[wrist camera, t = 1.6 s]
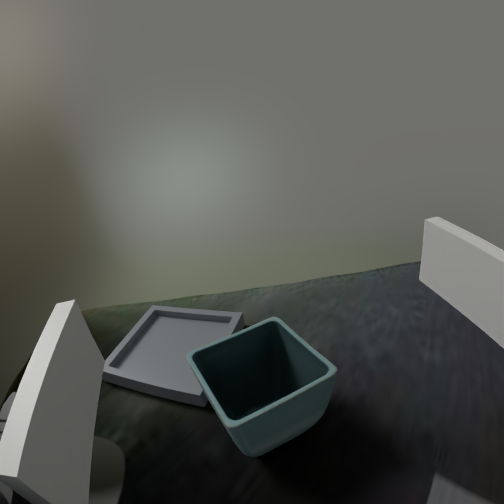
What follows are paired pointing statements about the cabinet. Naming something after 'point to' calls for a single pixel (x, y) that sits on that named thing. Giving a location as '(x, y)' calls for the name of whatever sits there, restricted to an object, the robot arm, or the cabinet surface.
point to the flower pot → (264, 384)
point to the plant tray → (168, 351)
